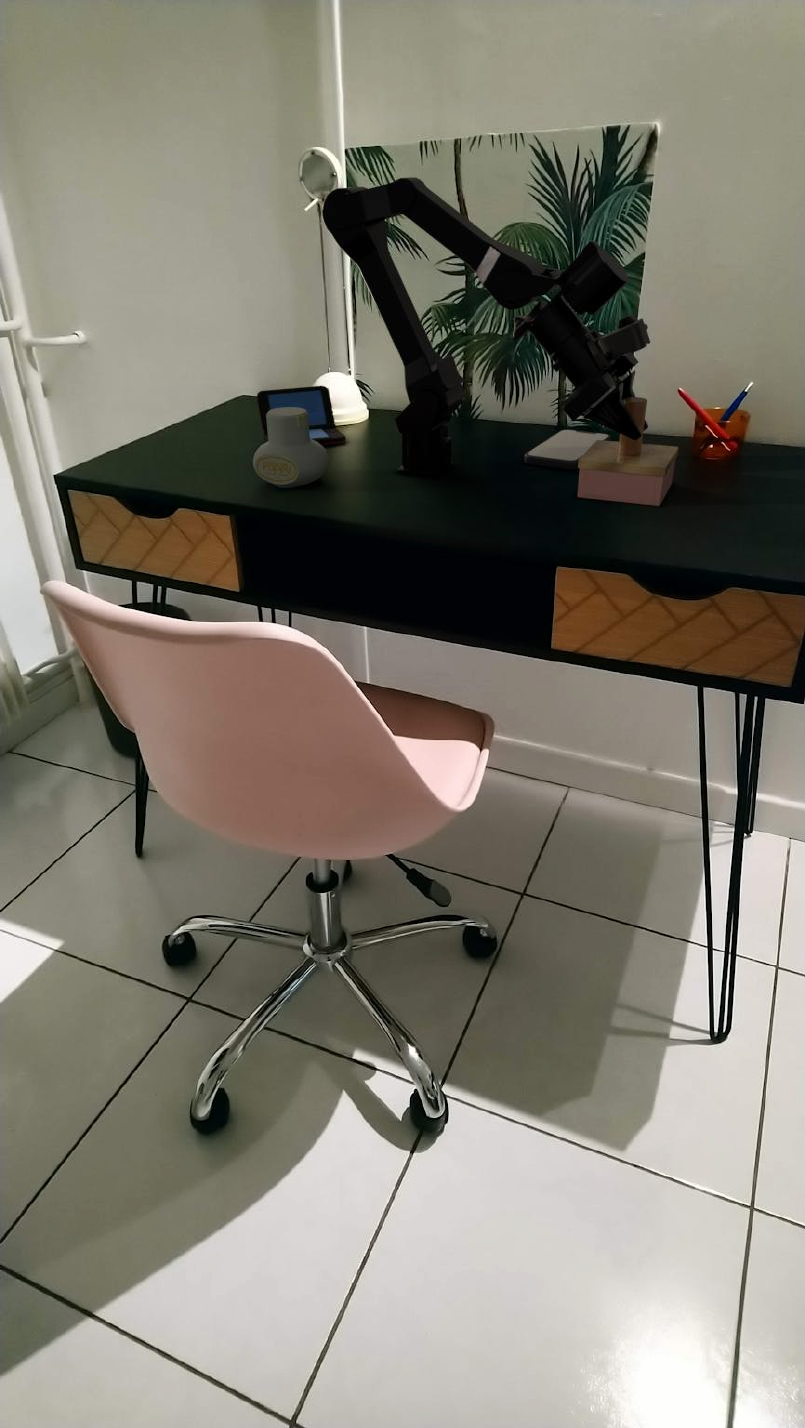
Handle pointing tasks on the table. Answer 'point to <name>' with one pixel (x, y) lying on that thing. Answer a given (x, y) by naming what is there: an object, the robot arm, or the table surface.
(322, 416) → the handheld console
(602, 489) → the toy box
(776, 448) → the table surface
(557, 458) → the phone case
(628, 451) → the wooden peg stand
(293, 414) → the air freshener
